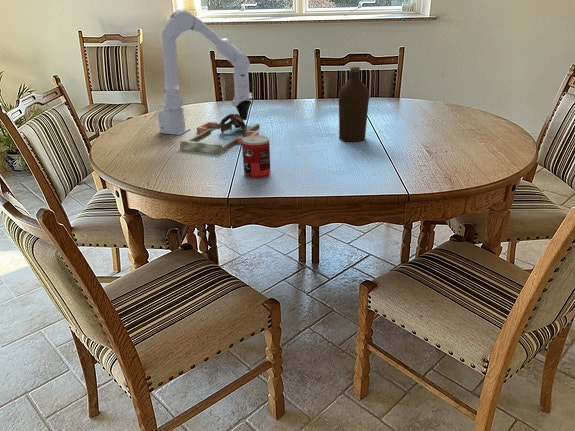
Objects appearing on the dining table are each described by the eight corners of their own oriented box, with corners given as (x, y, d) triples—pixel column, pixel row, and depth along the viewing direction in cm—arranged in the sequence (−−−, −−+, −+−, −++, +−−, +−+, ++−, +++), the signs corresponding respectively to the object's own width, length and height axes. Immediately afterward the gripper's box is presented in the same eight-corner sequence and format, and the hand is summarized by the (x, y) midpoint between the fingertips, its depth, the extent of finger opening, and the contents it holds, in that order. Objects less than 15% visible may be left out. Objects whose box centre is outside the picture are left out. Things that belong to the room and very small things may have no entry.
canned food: (243, 170, 149) (241, 135, 144) (269, 169, 149) (268, 134, 144) (244, 179, 142) (241, 143, 137) (271, 178, 142) (269, 142, 138)
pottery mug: (247, 137, 181) (235, 120, 176) (226, 147, 184) (214, 130, 180) (251, 121, 190) (239, 104, 185) (231, 130, 193) (219, 114, 189)
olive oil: (345, 144, 170) (348, 71, 159) (332, 136, 179) (334, 66, 168) (372, 140, 173) (376, 68, 162) (358, 132, 182) (361, 63, 171)
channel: (180, 149, 168) (179, 141, 167) (222, 124, 195) (222, 117, 194) (221, 153, 163) (220, 145, 162) (259, 127, 190) (259, 120, 189)
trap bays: (187, 138, 180) (187, 132, 179) (208, 126, 193) (207, 121, 193) (248, 144, 172) (248, 138, 171) (266, 131, 185) (265, 126, 185)
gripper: (243, 89, 181) (245, 125, 187) (258, 82, 193) (260, 115, 199) (226, 88, 183) (228, 123, 189) (242, 81, 195) (244, 114, 201)
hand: (243, 119), depth 194 cm, fingers closed
